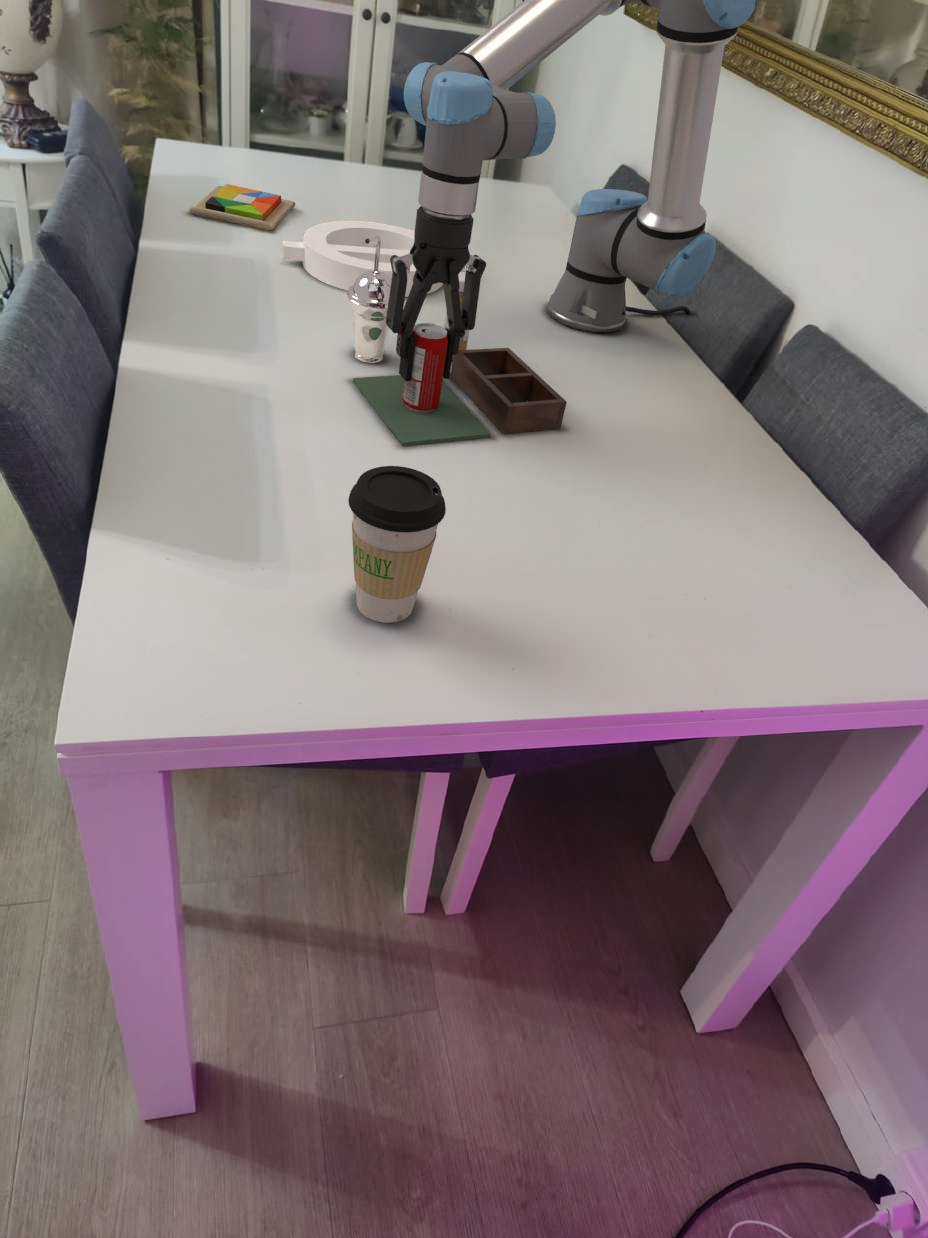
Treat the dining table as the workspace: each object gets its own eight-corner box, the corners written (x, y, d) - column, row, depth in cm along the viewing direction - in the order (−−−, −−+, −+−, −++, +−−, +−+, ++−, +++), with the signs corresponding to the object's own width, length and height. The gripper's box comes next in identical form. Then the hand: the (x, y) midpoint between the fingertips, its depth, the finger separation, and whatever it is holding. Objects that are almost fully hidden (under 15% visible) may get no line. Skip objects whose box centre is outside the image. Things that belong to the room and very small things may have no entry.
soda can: (443, 403, 137) (454, 326, 130) (431, 417, 133) (442, 339, 126) (409, 393, 138) (419, 316, 131) (396, 406, 134) (405, 329, 126)
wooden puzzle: (187, 216, 186) (186, 198, 184) (220, 193, 201) (220, 176, 198) (269, 233, 186) (269, 215, 183) (296, 209, 200) (297, 192, 198)
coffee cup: (340, 574, 102) (349, 458, 93) (426, 579, 104) (444, 466, 94) (339, 631, 95) (349, 511, 85) (432, 636, 96) (452, 519, 87)
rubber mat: (434, 376, 146) (435, 372, 145) (490, 437, 132) (490, 433, 132) (352, 381, 140) (353, 377, 139) (402, 446, 127) (403, 442, 126)
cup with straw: (405, 361, 148) (420, 235, 135) (364, 373, 142) (376, 243, 130) (370, 341, 152) (381, 217, 139) (329, 352, 146) (336, 224, 134)
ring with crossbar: (470, 276, 184) (474, 252, 181) (390, 308, 164) (393, 282, 161) (360, 235, 193) (362, 212, 190) (272, 261, 173) (272, 236, 170)
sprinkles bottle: (471, 359, 153) (484, 280, 144) (448, 362, 150) (460, 281, 142) (456, 348, 155) (468, 269, 147) (434, 350, 153) (445, 271, 145)
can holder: (503, 373, 150) (508, 347, 148) (560, 428, 138) (567, 401, 135) (449, 376, 146) (453, 350, 143) (503, 434, 134) (509, 406, 131)
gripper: (495, 202, 124) (468, 361, 139) (369, 199, 117) (355, 367, 131) (520, 220, 120) (490, 383, 134) (391, 218, 112) (374, 391, 126)
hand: (424, 375), depth 133 cm, fingers closed on soda can, 5 cm apart
